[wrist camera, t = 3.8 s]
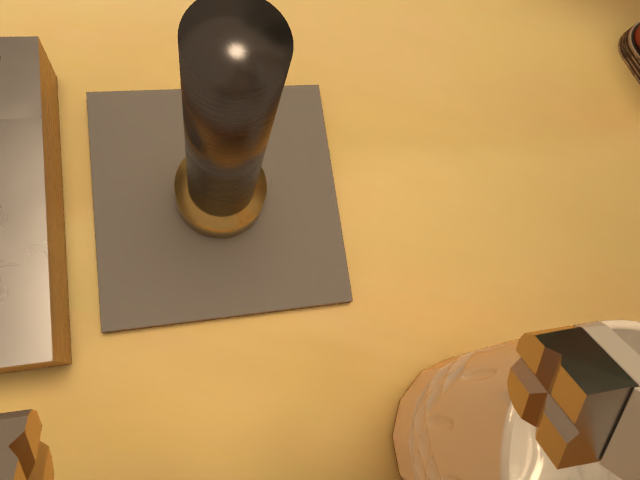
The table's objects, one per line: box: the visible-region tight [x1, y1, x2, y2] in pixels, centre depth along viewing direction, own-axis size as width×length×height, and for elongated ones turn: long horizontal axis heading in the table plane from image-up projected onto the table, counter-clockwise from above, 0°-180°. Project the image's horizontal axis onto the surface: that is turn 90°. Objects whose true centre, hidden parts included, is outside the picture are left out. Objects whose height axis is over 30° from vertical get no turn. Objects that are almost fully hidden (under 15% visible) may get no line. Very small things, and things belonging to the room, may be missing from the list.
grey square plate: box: [86, 85, 353, 333], centre depth 24 cm, size 10×10×1 cm
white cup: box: [393, 320, 640, 480], centre depth 19 cm, size 8×8×10 cm
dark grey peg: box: [174, 0, 293, 239], centre depth 18 cm, size 4×4×12 cm
